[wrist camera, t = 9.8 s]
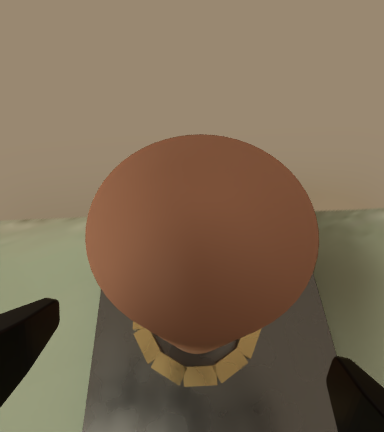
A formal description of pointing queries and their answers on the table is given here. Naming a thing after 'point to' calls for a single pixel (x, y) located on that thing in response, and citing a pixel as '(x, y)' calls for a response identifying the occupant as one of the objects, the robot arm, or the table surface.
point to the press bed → (213, 377)
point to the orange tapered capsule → (202, 240)
